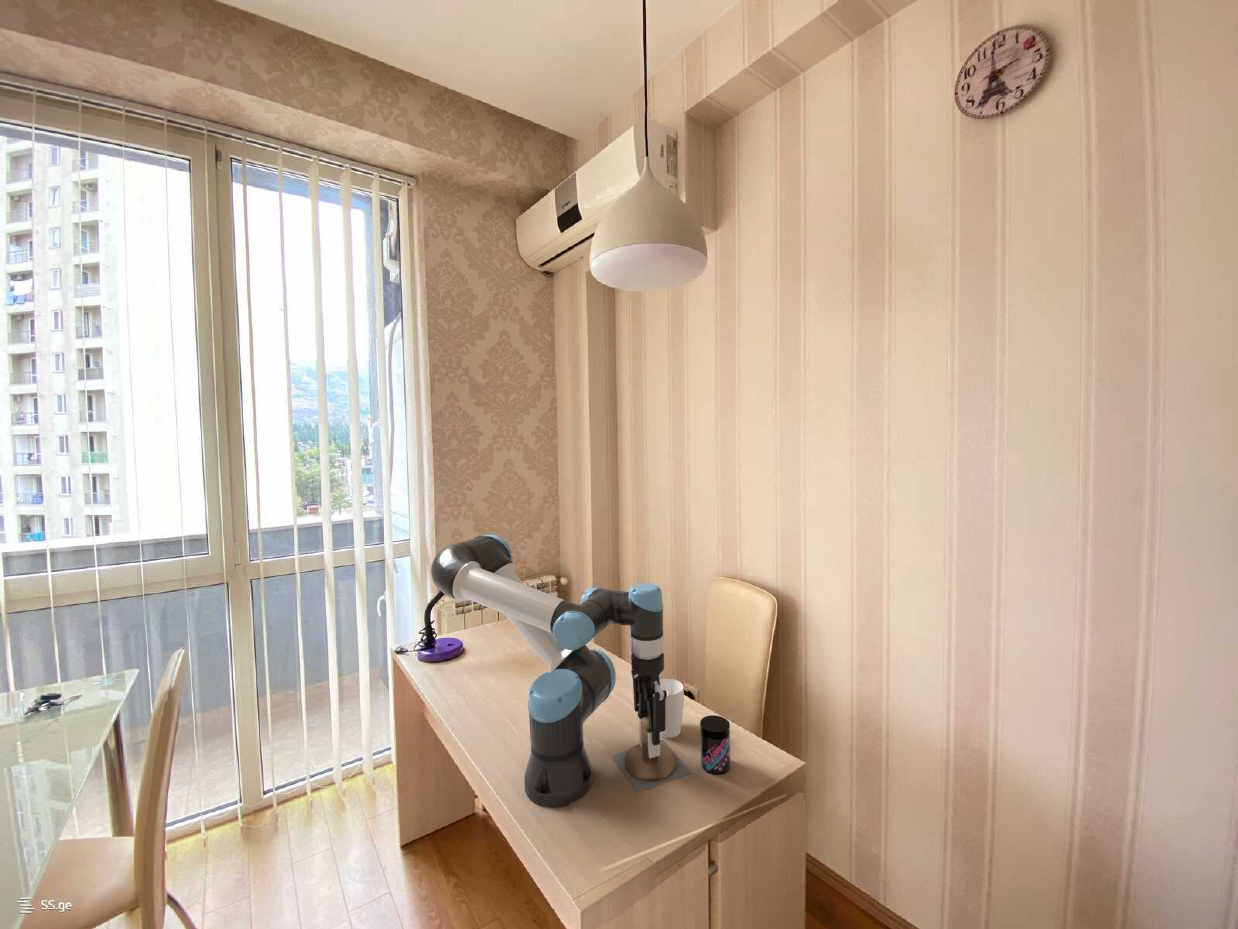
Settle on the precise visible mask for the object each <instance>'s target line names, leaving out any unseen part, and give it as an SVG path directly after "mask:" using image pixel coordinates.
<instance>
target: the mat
mask: <svg viewBox="0 0 1238 929" xmlns="http://www.w3.org/2000/svg"><path fill="white" fill-rule="evenodd" d="M660 744H662V745H664V746H667V747H668V748H670V749H671V750H672V751H673V752H674V754H675V756H676V769H675V771H674V772H673V774H672V775H670V776H669V777H667V778H665V779H663V780H659V781H643V780H639V779H637V778H635V777H633V776H631V775H630V774H629V773H628V772H627V770H626V768H625V755H626V753H627V751H628V750H629V749H628V750H624V751H622V752H617V753H615V754H612V755H611V758H612V759H613V761H614V762H615V763H616V766H618V767H619V769H620V770H621V772H622V773H623V775H624V777H625V778H626V779H627V781H628V782H629V784H630V785H631V786H632V789H634V791H635V792H636V794H638V793H641V792H644V791H647V790H650V789H652V788H655V787H658V786H661V785H664V784H666V783H669V782H670V783H671V782H672V781H676V780H678V779H681V778H683V777H687V776H690V775H692V774H693V772H692V770H691V769H690V768H689V767H688V766H687V764H685V763H684V761H683V760H682V759H681V758H680V757H679V756H678V755H677V753H676V752H675V751H674V750H673V749H672V748H671V747H670V746H669V745H668V743H667V742H665V740H664V739H660Z"/></svg>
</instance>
